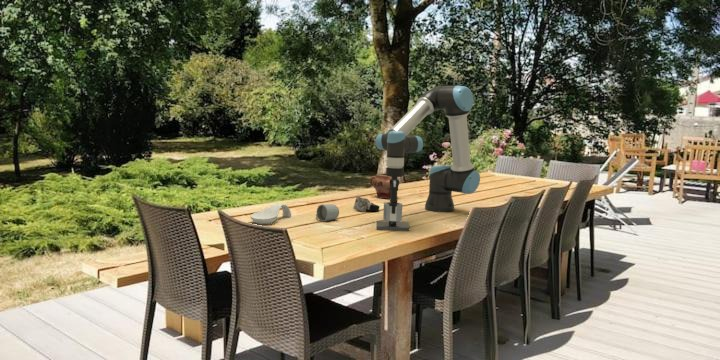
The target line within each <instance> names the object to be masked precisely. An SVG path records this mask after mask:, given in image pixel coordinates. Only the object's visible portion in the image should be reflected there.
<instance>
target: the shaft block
mask: <svg viewBox="0 0 720 360" xmlns="http://www.w3.org/2000/svg"><path fill="white" fill-rule="evenodd" d="M409 224H410V223H409V222H408V221H386V220H376V231H393V232H395V231H399V232H410V225H409Z"/></svg>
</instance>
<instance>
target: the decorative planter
mask: <svg viewBox="0 0 720 360" xmlns="http://www.w3.org/2000/svg"><path fill="white" fill-rule="evenodd" d="M391 178H392V177H389V176H386V172H385V173H383V172H382V173H378V174H375V175H373V176H371V177H370V178H369V184H370V186H372V187H373V188H374V189H375V192H376V196H377V197H378V198H380V199H390V192H391V191H390V180H391ZM399 185H400V184H399ZM399 185H398V187H399Z"/></svg>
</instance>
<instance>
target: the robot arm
mask: <svg viewBox="0 0 720 360" xmlns="http://www.w3.org/2000/svg"><path fill="white" fill-rule="evenodd" d="M473 95H474V94H473V93H472V91H471V88H469V87H467V86H465V85H438V86H435V87H432V88H431V89H429V90H428V91H426V92H424V93H423V94H422V95H421V96H419V98H418V99H417V100H416V103H415V104H414V105H413V106H412V108H411V109H409V110H408V111H407V112H406V113H405V114H404V115H403V116H402V117H401V118H400V119H399V120H398V121H397V122H396V123H395V124H394V125H393V126H392V127H391V128H389V130H387V132H386V133H383V132H382V133H380V134H379V133H378V135H377V136H376V137H375V142H374V143H375V146H376V148H377V149H379V150H381V151H386V159H385V160H384V162H386V163H385V164H386V168H385V173H386V176H389V177H392V178H391V180H390V191H391V192H390V198H389V202H391V204H389V206H390V221H396V213H397V203H398V191H399V186H398V185H400V180H399V179H398V178H402V177H403V176H404V166H405V154H410V153H413V154H415V153H419V152H421V151H422V149H423V147H424V141H423V139H422V137H421V136H419V135H414V134H413V135H409V134H410V133H411V132H412V131H413V130H414V129H415V127H417V126H418V125H419V124H420V123H421V122H422V121H423V120H424V119H425V117H427V116H428V115H432V114H433V113H434V112H435V111H444V114H445V115H444V116H445V117H446V118H448V124H449V125H448V126H449V136H450V143H451V144H450V145H451V155H452V164H451V165H449V164H448V165H445V164H444V165H435V166H431V167H430V171H429V188H428V189H429V190H428V191H429V192H428V196H427V199H426V201H425V204H424V209H425V210H426V211H430V212H431V211H432V212H437V213H439V212H440V213H447V212H448V213H449V212H453V211H455V204H454V200H453V196H452V194H453V193H452V192H455V193H460V194H468V195H469V194H473V193H474V192H476V191H477V189H478V187H479V185H480V183H481V182H480V181H481V175H480V173H479V171H478V170H475V166H474V164H473V163H471V152H470V151H471V149H470V139H469V130H468V128H469V127H468V119H467V118H468V117H467V116H468V115H469V114H470V111H471V110H472V108H473V105H474V96H473ZM393 202H395V203H393Z"/></svg>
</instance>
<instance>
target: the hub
mask: <svg viewBox="0 0 720 360" xmlns="http://www.w3.org/2000/svg"><path fill="white" fill-rule="evenodd" d="M393 203H395V202H393ZM389 204H391V202H390V201H389V202H384V203H383V219H382V221H390V206H389ZM402 218H403V203H402V202H397V213H396V221H397V222H402V220H403V219H402Z"/></svg>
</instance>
